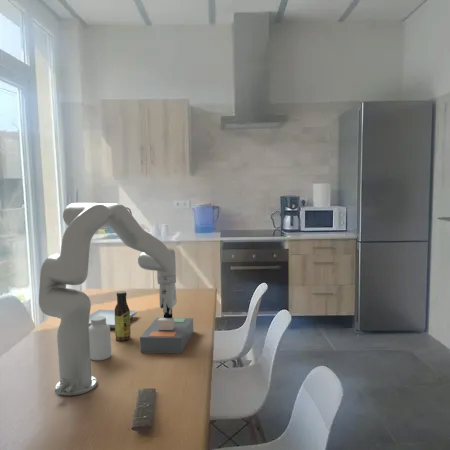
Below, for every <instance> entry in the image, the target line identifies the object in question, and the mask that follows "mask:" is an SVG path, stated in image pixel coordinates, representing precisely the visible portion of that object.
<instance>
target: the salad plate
mask: <svg viewBox="0 0 450 450" xmlns="http://www.w3.org/2000/svg"><path fill="white" fill-rule="evenodd" d="M137 313H138V311H137V310H130V319H131V318H133V317H134V316H135V315H136V314H137ZM97 316H104V317H105V318H106V323H107V324H108V325H109V326H110V329H115V309H98V310H96V311H94V312H92V313H90V315H89V327H90V326H91V325H92V324H91V319H92V318H93V317H97Z"/></svg>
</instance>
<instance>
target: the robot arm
mask: <svg viewBox="0 0 450 450" xmlns="http://www.w3.org/2000/svg"><path fill="white" fill-rule="evenodd" d="M62 218H63V222H64V223H65V224H66V225H67V227H66V229H65V231H64V233H63V235H62V239H61V246H60V247H61V248H60V253H53V254H51V255H49V256H47V257H46V258H45V259H44V261H43V263H42V265H41V268H40V272H39V273H40V275H39V290H38V291H39V292H38V305H39V306H38V307H39V309H40V311H41V312H42V313H43V314H44V315H46V316H49V317H52V318H57V319H60V323H59V325H58V329H57V333H56V334H57V335H56V337H57V338H56V339H57V352H58V365H59V366H58V367H59V368H58V370H59V381H58V382H57V383H56V385H55V386H54V393H55V395H59V396H79V395H82V394H86V393H88V392H90V391H91V390H93V389H94V388H95V387H96V386H97V385H98V380H97V378H96V377H95V376H93V375H92V364H91V363H92V362H91V360H92V359H90V341H89V315H90V314H91V307H92V303H91V300H90V297H89V296H88V295H87V294H86V293H85V292H84V291H81V290H79V289H72V288H67V286H79V285H82V284H84V283H85V281H86V280H87V278H88V274H89V262H90V246H91V241H92V239H93V237H94V235H95V234H96V233H97V232H98V231H99V230H100V229H101V228H110V229H111V230H112V231H113V232H114V233H115V234H116V235H117V237H118V238H119V239H120V240H121V242H122V243H123V244H124V245H125V246H127V247H129V248H131V249H133V250H136V251H137V252H141V253H140V254H139V256H138V257H137V264H138V266H139V267H140V268H141V269H143V270H147V271H153V272H155V271H156V276H157V278H156V279H157V284H158V285H159V307H160V309H162V312H163V318H173V308H174V307H175V305H176V304H177V302H178V300H177V289H176V283H177V270H176V251H175V250H174V249H173V248H168V247H167V246H166V245H165V243H163V242H162V241H161V240H160V239H158V238H157V237H155V236H154V235H152V234H151V233H150V232H147V231H146V230H144V228H142V226H141V225H140V223H138V221H137V220H136V218H135V217H134V216H133V215H132V212H131V211H129V209H128V208H127V207H126V206H125V205H123V204H122V203H98V202H73V203H69V204H68V205H67V206H66V207H65V208H64V209H63V213H62Z"/></svg>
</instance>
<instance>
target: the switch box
mask: <svg viewBox="0 0 450 450" xmlns="http://www.w3.org/2000/svg"><path fill="white" fill-rule="evenodd" d="M159 318H160V317H156V318H155V320H153V322H152V323H151V324H150V325H149V326H148V327H147V329H146V330H145V331H144V332H143V333H142V334H141V335H140V337H139V341H140V342H139V343H140V345H139V346H140V347H139V348H140V353H147V354H150V353H153V354H154V353H156V354H157V353H158V354H160V353H161V354H182V353H183V351H184V350H185V348H186V346H187V344H188V343H189V341H190V338H191V337H192V335H193V333H194V317H188V318H187V317H173V318H174V329H173V330H158V319H159Z"/></svg>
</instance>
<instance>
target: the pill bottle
mask: <svg viewBox="0 0 450 450" xmlns="http://www.w3.org/2000/svg"><path fill="white" fill-rule="evenodd" d="M91 324H92V325H91V326H90V327H89V341H90V359H91V360H92V361H103V360H107V359H109V358H110V357H111V356H112V342H111V341H112V340H111V339H112V337H111V328H110V326H109V325H108V324H107V323H106V318H105V317H104V316H97V317H93V318H92V319H91Z"/></svg>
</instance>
